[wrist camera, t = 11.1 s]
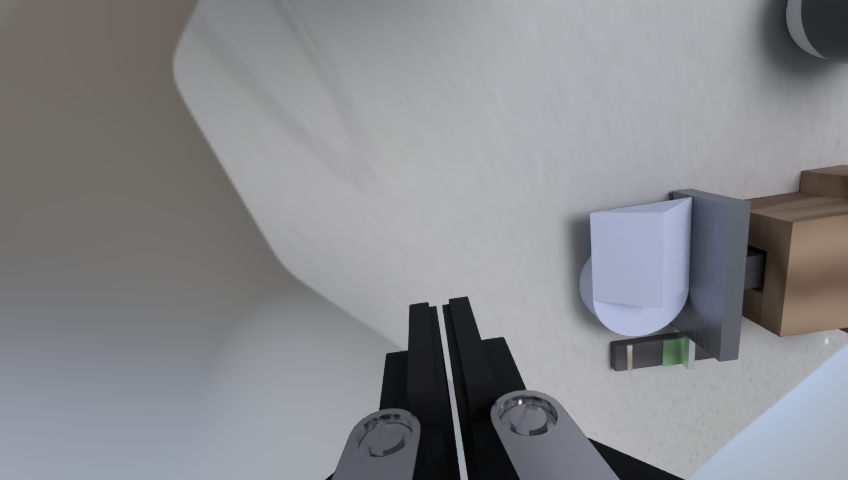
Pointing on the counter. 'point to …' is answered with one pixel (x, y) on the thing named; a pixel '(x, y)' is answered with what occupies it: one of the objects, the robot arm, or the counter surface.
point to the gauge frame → (780, 270)
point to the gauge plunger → (717, 275)
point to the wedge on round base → (638, 266)
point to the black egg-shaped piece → (820, 27)
